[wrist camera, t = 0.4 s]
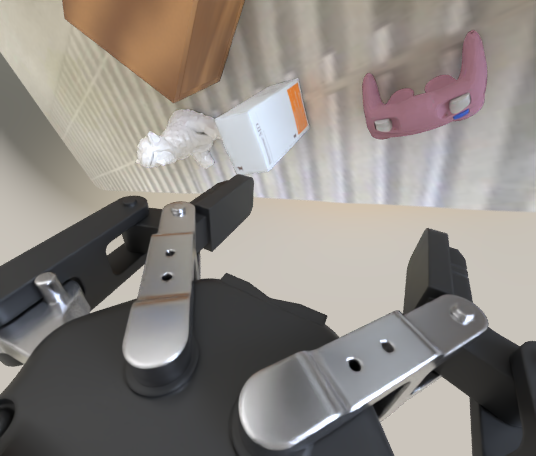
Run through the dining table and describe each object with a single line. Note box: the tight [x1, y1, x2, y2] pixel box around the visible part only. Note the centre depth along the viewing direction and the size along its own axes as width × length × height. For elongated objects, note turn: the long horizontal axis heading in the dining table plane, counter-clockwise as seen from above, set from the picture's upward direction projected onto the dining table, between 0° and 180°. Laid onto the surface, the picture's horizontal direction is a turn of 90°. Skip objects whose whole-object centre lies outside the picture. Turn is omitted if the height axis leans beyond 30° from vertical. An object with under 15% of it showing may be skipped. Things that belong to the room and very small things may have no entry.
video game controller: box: [362, 30, 487, 139], centre depth 25 cm, size 10×5×7 cm, turn 118°
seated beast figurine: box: [135, 109, 222, 169], centre depth 38 cm, size 10×9×12 cm
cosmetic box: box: [215, 78, 310, 175], centre depth 30 cm, size 6×4×12 cm
